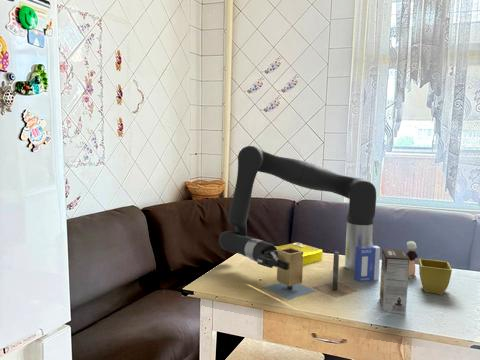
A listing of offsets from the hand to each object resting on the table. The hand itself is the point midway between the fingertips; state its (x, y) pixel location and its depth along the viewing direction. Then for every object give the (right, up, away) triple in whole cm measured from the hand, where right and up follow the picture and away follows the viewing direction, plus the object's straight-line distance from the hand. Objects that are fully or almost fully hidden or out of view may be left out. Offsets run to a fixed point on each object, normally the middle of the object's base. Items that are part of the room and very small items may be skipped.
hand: (294, 265), depth 129 cm
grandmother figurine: (+43, -8, +17) cm, 47 cm away
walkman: (+26, -8, +13) cm, 30 cm away
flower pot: (+45, -9, +4) cm, 46 cm away
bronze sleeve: (-1, -6, +2) cm, 6 cm away
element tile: (+6, -5, +37) cm, 37 cm away
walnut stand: (+13, -9, +3) cm, 16 cm away
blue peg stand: (-1, -9, +3) cm, 9 cm away
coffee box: (+27, -11, -9) cm, 30 cm away
